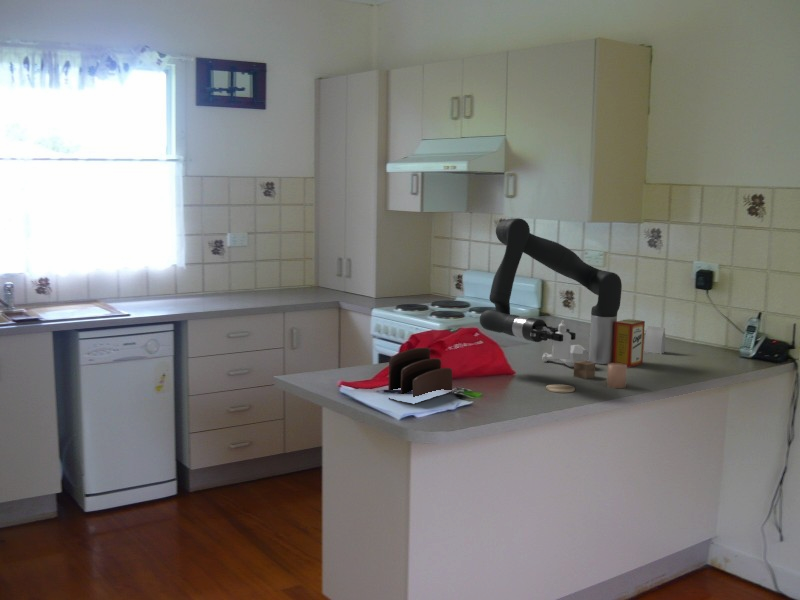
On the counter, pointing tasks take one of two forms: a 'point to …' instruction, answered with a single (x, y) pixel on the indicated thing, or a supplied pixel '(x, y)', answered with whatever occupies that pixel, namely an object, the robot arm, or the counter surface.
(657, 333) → the white paper bag
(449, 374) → the letter holder
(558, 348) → the eye dropper bottle
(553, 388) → the cork coaster
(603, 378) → the counter surface
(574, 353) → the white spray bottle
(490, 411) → the counter surface
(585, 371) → the walnut block
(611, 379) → the domed peg
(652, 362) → the counter surface
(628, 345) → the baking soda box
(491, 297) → the robot arm
